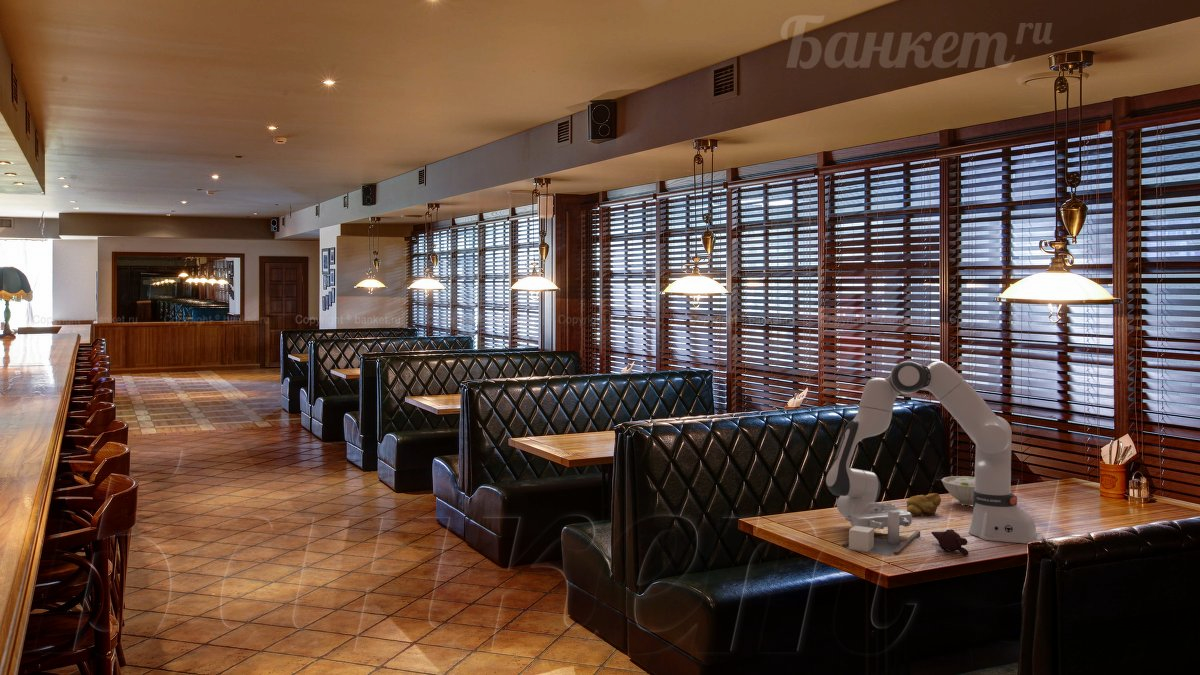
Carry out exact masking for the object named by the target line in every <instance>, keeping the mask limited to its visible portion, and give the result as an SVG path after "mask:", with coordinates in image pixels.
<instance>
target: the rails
mask: <svg viewBox="0 0 1200 675" xmlns="http://www.w3.org/2000/svg"><path fill="white" fill-rule="evenodd" d="M919 537H920V538H921V531H920V530H916V531H914V533H912V534H911V535H910V536H909V537H908V538H907V539H906V540H905V541H903V542H904V543H903V544H901V545H900V546H899V547H898V548H897V549H896V550H895V551H894V553H893V555H897V556H898V555H899V554H901V552H903V551H904V550H905V549H906V548H907V547H908V546H909V545H910V544H911V543H912V542H914V540H915V539H918V538H919ZM920 538H919V539H920ZM848 546H849V538H848V539H847V540H845V541H844V542H843V543H842V544H841V547H843V548H847V547H848Z"/></svg>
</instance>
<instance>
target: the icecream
mask: <svg viewBox="0 0 1200 675" xmlns="http://www.w3.org/2000/svg"><path fill="white" fill-rule="evenodd" d="M931 535H932V536H933V537H934V538H935V539H936V540H937V542H938V544H939V547H940V548H941V550H942V551H948V552H952V553H954V552H956V551H958V552H959V553H960V554H961V555H962V556H965V557H966V556H967V557H968V556H969V554H970V553H969V550H968V549H967V548H965V547H963V546H966V545H967V544H968V540H967V539H966V538H965V537H961V535H960V533H957V532H956V531H955V530H954V529H946V530H945V531H931Z"/></svg>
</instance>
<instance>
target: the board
mask: <svg viewBox="0 0 1200 675" xmlns="http://www.w3.org/2000/svg"><path fill="white" fill-rule="evenodd" d="M899 517H900V512H899V511H894V510H891V511H888V527H887V539H885V538H880V537H879V538H878V537H874V547H873V548H872V549H871V550H870V551H868V552H867V551H860V550H853V549H849V545H848V546H847V547H845V550H849V551H855V552H862V553H869V554H877V555H882V556H889V557H890V556H892V555H894V551H895V550H896V549H897V548H898V547H899V546H900V545H901V544H903V543H904V542H905V541H901V540H900V526H899Z"/></svg>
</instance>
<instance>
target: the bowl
mask: <svg viewBox="0 0 1200 675" xmlns="http://www.w3.org/2000/svg"><path fill="white" fill-rule="evenodd" d="M941 482H942V484H943V486H944V489H946V490H947V491H948V493H949V494H950V495H951V496H952V497H953V498H954V499H956V500H957V501H958V503H960V504H963V505H973V491H974V490H975V476H968V475H967V476H966V475H962V476H960V475H955V476H954V475H953V476H947V477H946V476H945V477H943V478H942V479H941Z"/></svg>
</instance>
